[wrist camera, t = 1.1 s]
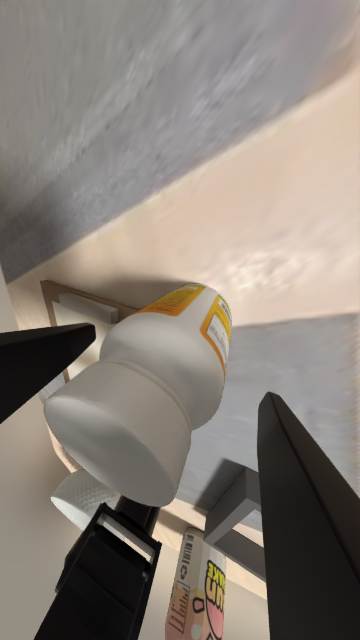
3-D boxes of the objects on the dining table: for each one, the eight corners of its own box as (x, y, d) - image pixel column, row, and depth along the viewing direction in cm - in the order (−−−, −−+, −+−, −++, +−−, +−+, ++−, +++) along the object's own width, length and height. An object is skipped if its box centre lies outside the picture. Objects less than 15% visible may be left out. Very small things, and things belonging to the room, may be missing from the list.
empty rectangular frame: (295, 572, 22) (301, 606, 20) (206, 516, 25) (203, 541, 23) (397, 544, 14) (426, 597, 12) (245, 466, 17) (246, 497, 15)
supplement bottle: (157, 324, 14) (28, 433, 5) (182, 268, 11) (6, 317, 3) (208, 357, 13) (153, 535, 5) (248, 308, 11) (277, 516, 2)
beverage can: (239, 563, 28) (238, 744, 18) (202, 550, 32) (184, 690, 22) (210, 530, 27) (192, 703, 17) (176, 521, 31) (144, 655, 21)
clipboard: (147, 431, 21) (141, 443, 20) (71, 390, 25) (61, 398, 23) (161, 317, 13) (152, 324, 12) (46, 280, 17) (28, 282, 15)
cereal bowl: (124, 505, 40) (103, 550, 34) (75, 462, 40) (46, 500, 34) (153, 499, 31) (132, 560, 25) (91, 445, 32) (55, 492, 25)
